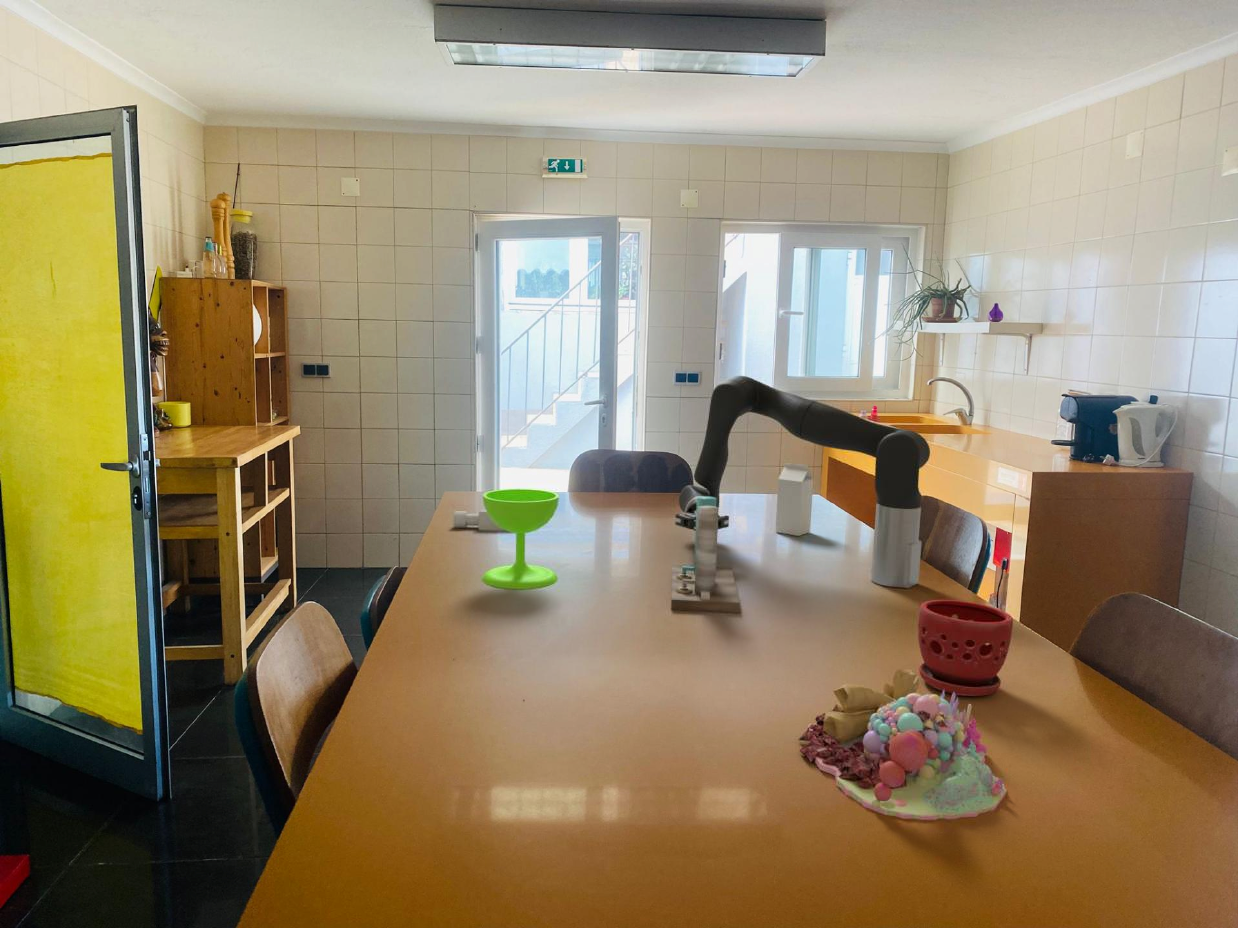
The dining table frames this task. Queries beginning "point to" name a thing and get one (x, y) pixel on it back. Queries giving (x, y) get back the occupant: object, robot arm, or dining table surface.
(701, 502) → the teal lever handle
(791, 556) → the dining table surface
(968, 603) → the plant pot
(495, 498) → the wineglass
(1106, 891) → the dining table surface
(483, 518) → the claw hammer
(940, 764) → the pastel sphere sculpture
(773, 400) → the robot arm
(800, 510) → the milk carton
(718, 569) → the gauge board
